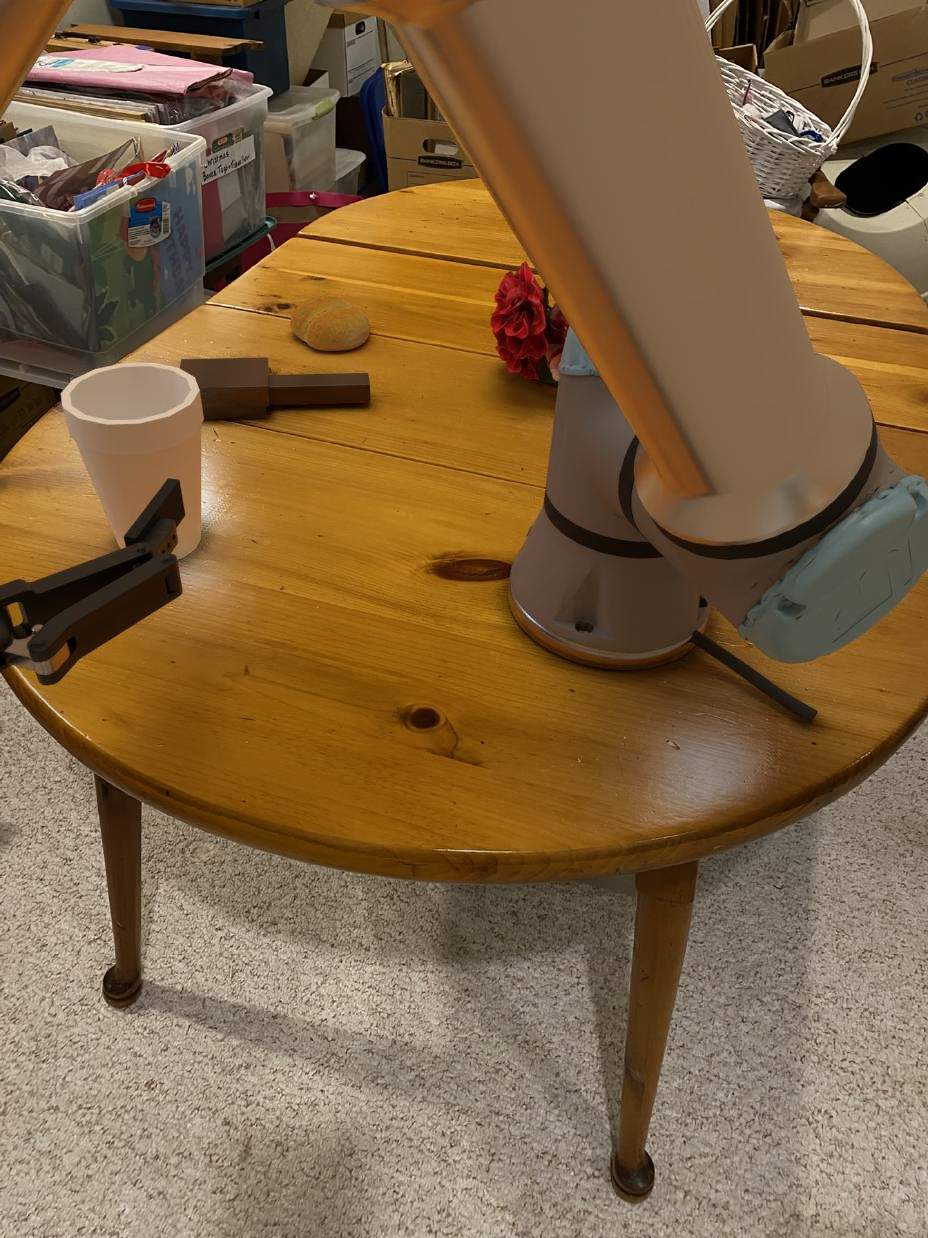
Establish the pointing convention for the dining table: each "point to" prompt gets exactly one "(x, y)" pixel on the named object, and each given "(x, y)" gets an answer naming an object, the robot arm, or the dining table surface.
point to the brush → (266, 387)
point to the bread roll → (330, 324)
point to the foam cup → (139, 441)
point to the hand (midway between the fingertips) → (76, 482)
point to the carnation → (528, 327)
